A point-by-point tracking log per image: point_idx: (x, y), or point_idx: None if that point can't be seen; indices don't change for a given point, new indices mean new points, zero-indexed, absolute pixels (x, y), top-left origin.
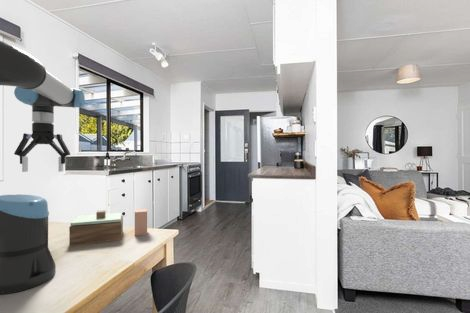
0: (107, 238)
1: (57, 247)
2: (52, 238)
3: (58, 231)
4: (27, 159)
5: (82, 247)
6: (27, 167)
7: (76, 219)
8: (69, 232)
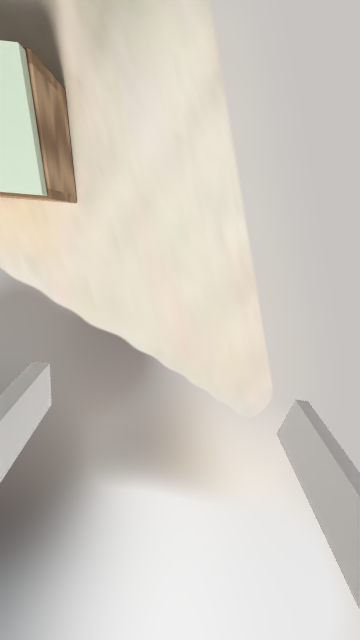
0: None
1: (97, 89)
2: (137, 205)
3: (139, 273)
4: (336, 551)
5: None
6: (292, 459)
7: (19, 117)
8: (43, 64)
